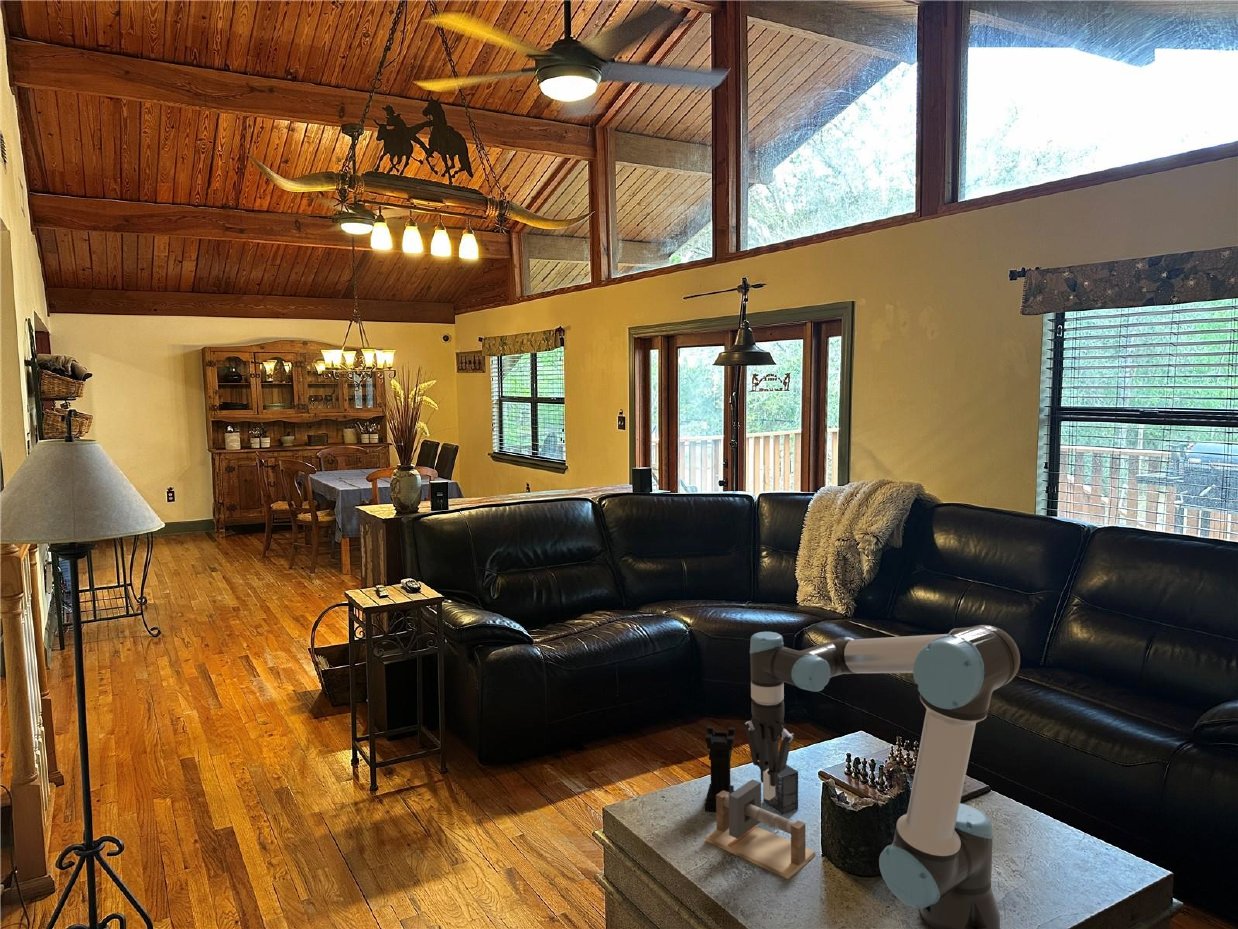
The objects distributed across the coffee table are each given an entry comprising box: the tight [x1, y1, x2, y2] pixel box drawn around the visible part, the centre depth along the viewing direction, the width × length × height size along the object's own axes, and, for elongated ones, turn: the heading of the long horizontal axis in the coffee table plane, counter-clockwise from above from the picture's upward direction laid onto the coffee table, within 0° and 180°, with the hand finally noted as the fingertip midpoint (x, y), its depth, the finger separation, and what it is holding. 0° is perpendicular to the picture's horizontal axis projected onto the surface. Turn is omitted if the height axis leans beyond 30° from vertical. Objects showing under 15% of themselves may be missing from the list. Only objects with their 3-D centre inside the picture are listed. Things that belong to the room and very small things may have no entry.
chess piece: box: [703, 725, 736, 814], centre depth 207 cm, size 8×8×20 cm
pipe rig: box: [705, 790, 816, 880], centre depth 188 cm, size 23×12×10 cm, turn 47°
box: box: [762, 764, 799, 815], centre depth 207 cm, size 8×6×11 cm
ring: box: [729, 779, 762, 839], centre depth 190 cm, size 2×10×10 cm, turn 137°
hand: (769, 797), depth 185 cm, fingers closed
